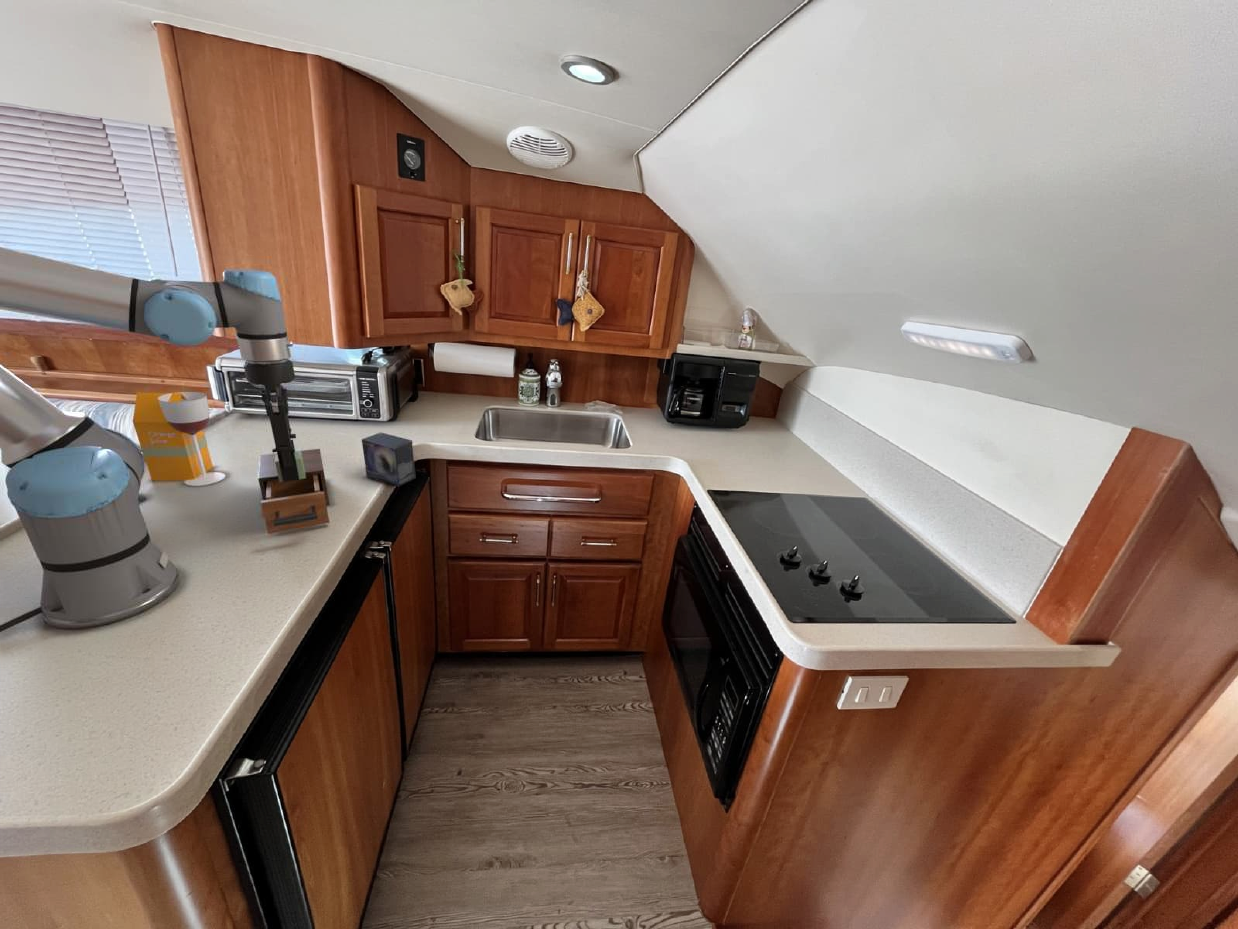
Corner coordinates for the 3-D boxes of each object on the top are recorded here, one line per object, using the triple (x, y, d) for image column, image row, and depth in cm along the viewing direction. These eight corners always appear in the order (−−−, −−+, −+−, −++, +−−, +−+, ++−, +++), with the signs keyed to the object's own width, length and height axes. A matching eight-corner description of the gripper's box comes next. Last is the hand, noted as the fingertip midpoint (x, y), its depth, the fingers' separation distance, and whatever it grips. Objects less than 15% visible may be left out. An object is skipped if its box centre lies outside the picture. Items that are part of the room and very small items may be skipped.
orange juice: (172, 467, 120) (148, 387, 112) (213, 467, 121) (192, 389, 114) (150, 481, 113) (123, 397, 105) (195, 481, 114) (171, 398, 107)
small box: (364, 478, 123) (359, 438, 119) (384, 469, 128) (380, 431, 124) (397, 487, 119) (393, 447, 115) (417, 478, 125) (413, 439, 121)
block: (279, 482, 97) (274, 461, 95) (279, 473, 100) (275, 453, 98) (305, 478, 99) (301, 458, 97) (304, 470, 102) (300, 450, 100)
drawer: (331, 534, 97) (325, 503, 94) (267, 546, 92) (260, 514, 89) (325, 497, 110) (320, 470, 108) (269, 506, 105) (262, 477, 102)
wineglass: (200, 489, 111) (176, 404, 103) (173, 481, 113) (148, 397, 106) (235, 476, 118) (215, 395, 110) (209, 469, 120) (188, 389, 113)
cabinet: (329, 505, 109) (323, 470, 106) (266, 515, 103) (257, 478, 100) (325, 481, 119) (319, 448, 116) (267, 489, 113) (260, 455, 110)
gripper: (292, 369, 85) (314, 489, 94) (291, 350, 99) (310, 457, 108) (239, 371, 82) (267, 496, 91) (245, 351, 95) (269, 462, 104)
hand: (291, 474), depth 99 cm, fingers closed on block, 4 cm apart
